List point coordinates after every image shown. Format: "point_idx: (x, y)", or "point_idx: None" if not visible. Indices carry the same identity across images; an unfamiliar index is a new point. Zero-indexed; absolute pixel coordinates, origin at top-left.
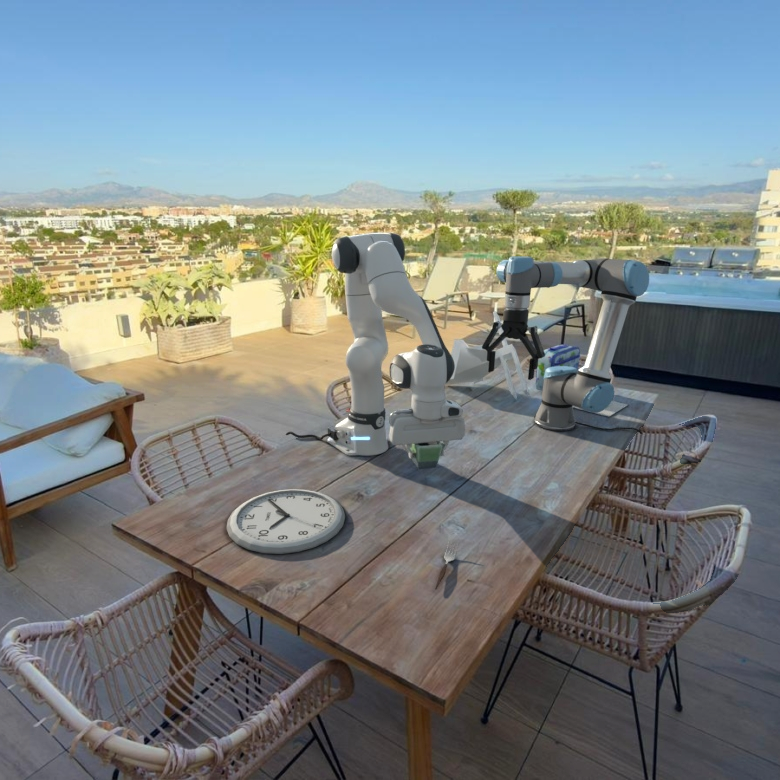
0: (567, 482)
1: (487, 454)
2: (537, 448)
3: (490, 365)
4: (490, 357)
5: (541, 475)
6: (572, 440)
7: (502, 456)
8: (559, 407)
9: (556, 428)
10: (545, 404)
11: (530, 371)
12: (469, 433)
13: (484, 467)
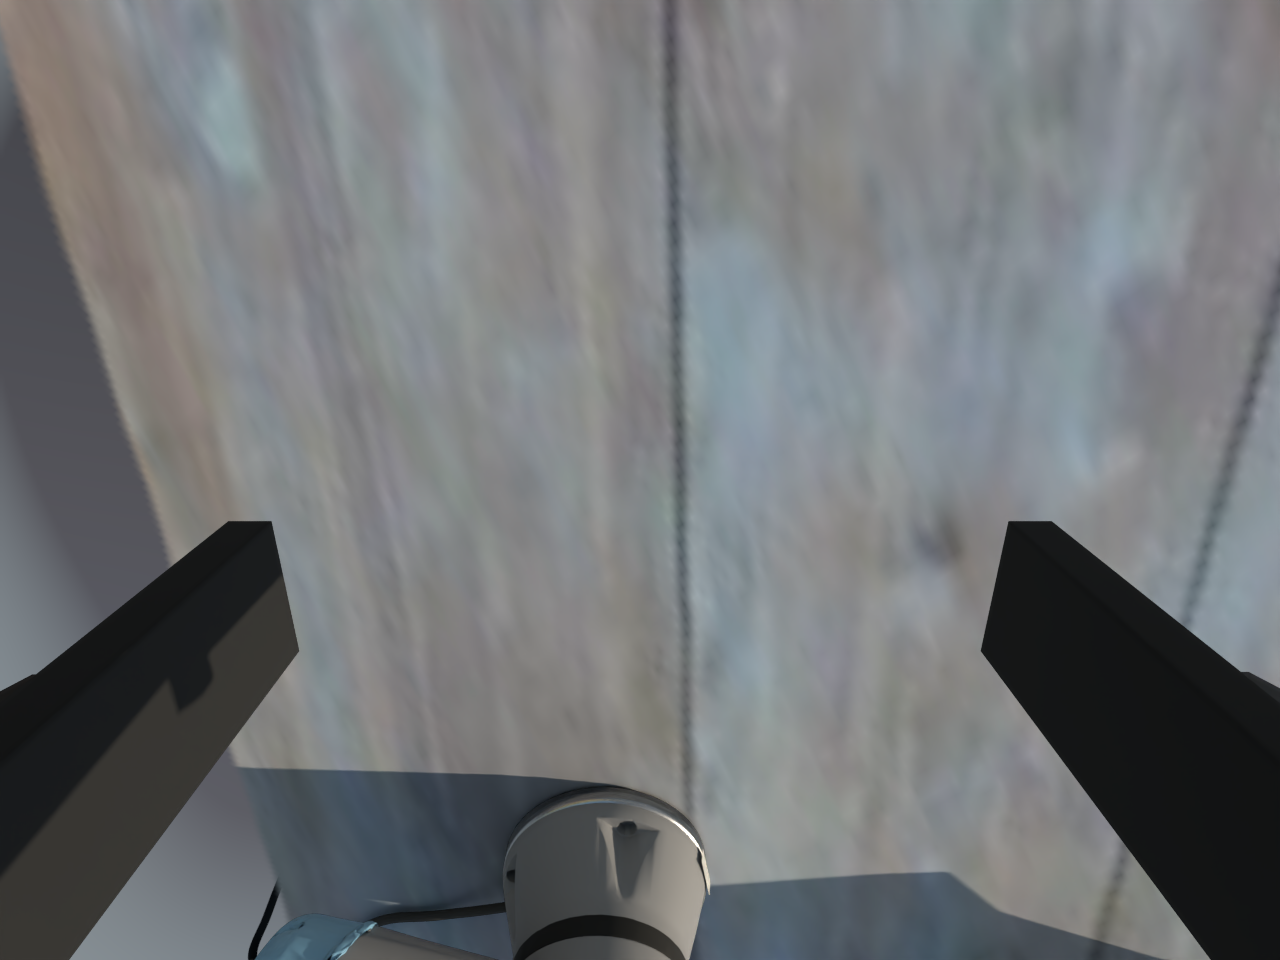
0: (195, 227)
1: (730, 291)
2: (537, 547)
3: (1091, 588)
4: (1251, 713)
5: (346, 219)
6: (446, 738)
7: (644, 322)
8: (553, 926)
9: (558, 804)
10: (640, 926)
11: (138, 602)
12: (947, 507)
13: (662, 88)
